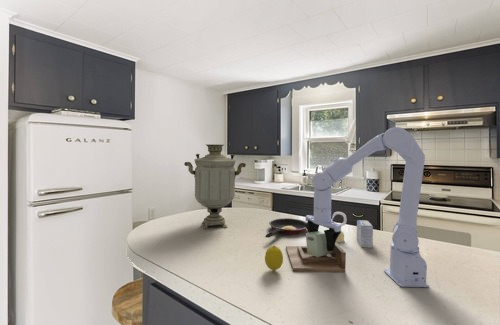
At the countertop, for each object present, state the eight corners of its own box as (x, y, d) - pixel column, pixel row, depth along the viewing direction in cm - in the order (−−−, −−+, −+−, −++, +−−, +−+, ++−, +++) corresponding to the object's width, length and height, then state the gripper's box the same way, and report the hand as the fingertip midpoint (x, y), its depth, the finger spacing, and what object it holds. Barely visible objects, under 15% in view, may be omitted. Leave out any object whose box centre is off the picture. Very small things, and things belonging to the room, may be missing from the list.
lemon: (271, 265, 83) (271, 241, 83) (286, 270, 79) (286, 245, 79) (261, 271, 79) (261, 245, 78) (276, 277, 75) (276, 250, 75)
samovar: (249, 218, 140) (250, 145, 138) (241, 233, 114) (241, 143, 112) (197, 215, 145) (197, 144, 143) (178, 230, 119) (177, 143, 117)
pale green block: (333, 253, 87) (331, 232, 88) (316, 257, 83) (314, 235, 84) (322, 250, 91) (320, 230, 92) (306, 254, 88) (304, 233, 88)
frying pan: (314, 228, 124) (314, 220, 123) (288, 249, 96) (288, 240, 96) (278, 222, 133) (278, 215, 133) (246, 240, 106) (246, 231, 106)
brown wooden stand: (345, 271, 79) (345, 252, 78) (293, 271, 79) (293, 252, 79) (328, 249, 97) (328, 233, 96) (286, 248, 97) (286, 233, 97)
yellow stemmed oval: (329, 240, 106) (330, 212, 105) (332, 237, 110) (332, 209, 110) (344, 243, 103) (345, 214, 102) (347, 239, 107) (347, 211, 107)
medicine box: (372, 248, 98) (373, 226, 98) (360, 247, 99) (361, 225, 99) (367, 241, 106) (368, 220, 105) (356, 240, 107) (356, 219, 106)
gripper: (348, 210, 83) (347, 251, 83) (316, 202, 95) (315, 238, 96) (332, 213, 79) (331, 256, 80) (301, 204, 92) (300, 241, 92)
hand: (321, 246), depth 88 cm, fingers open, 7 cm apart
